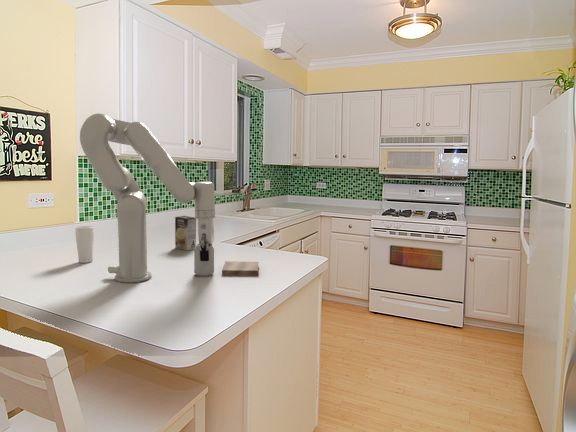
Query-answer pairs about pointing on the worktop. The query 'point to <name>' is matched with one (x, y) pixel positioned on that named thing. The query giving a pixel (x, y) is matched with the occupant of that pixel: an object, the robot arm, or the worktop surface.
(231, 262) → the walnut board
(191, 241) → the coffee box
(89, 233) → the drinking glass
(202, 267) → the can
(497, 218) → the worktop surface
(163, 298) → the worktop surface
